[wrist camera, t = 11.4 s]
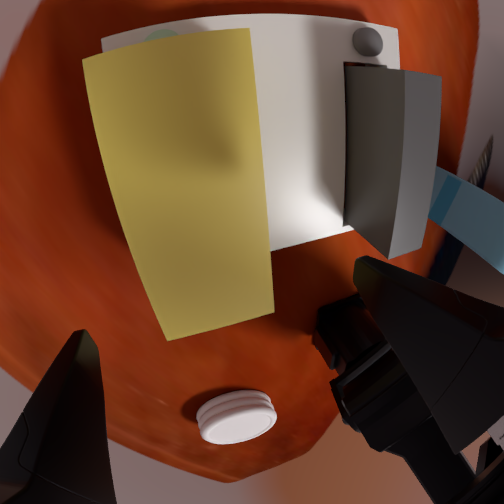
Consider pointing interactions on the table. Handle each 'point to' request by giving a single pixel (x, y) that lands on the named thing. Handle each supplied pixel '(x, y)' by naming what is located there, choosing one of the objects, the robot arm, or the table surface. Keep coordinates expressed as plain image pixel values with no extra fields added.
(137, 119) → the pale yellow pad
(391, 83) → the block
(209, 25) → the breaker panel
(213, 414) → the coaster
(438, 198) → the data package
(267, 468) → the table surface
